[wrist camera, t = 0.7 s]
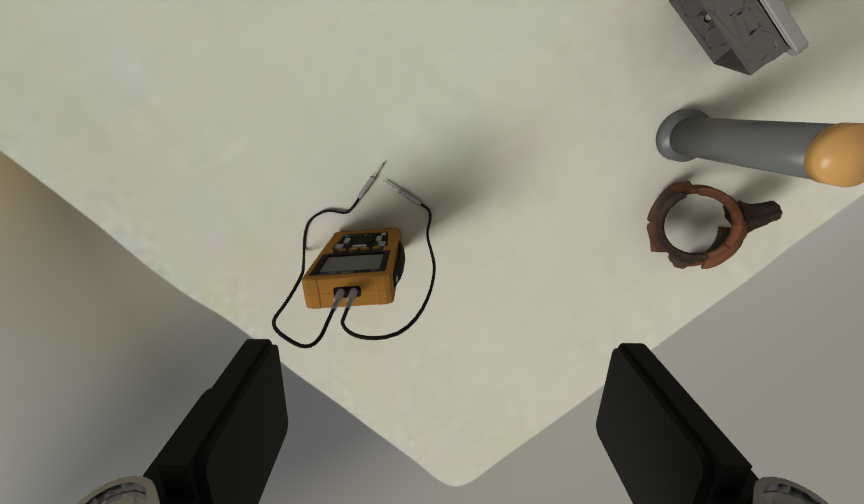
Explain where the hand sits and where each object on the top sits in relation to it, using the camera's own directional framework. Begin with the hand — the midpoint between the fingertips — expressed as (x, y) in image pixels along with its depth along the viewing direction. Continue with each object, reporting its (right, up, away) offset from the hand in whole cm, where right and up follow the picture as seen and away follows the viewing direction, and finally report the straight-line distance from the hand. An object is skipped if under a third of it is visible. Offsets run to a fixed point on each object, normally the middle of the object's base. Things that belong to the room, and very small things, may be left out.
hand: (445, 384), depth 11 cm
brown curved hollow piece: (+28, +7, +34) cm, 44 cm away
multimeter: (-8, +8, +33) cm, 34 cm away
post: (+25, +16, +30) cm, 42 cm away
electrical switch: (+25, +25, +27) cm, 45 cm away
